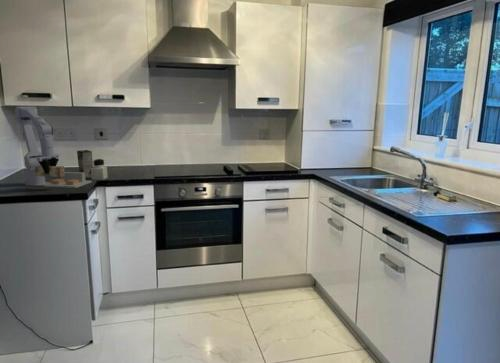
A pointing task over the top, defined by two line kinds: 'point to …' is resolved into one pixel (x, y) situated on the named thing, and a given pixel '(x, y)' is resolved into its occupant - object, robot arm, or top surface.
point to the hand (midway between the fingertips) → (50, 172)
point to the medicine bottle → (99, 170)
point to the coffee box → (85, 162)
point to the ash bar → (50, 171)
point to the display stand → (69, 180)
